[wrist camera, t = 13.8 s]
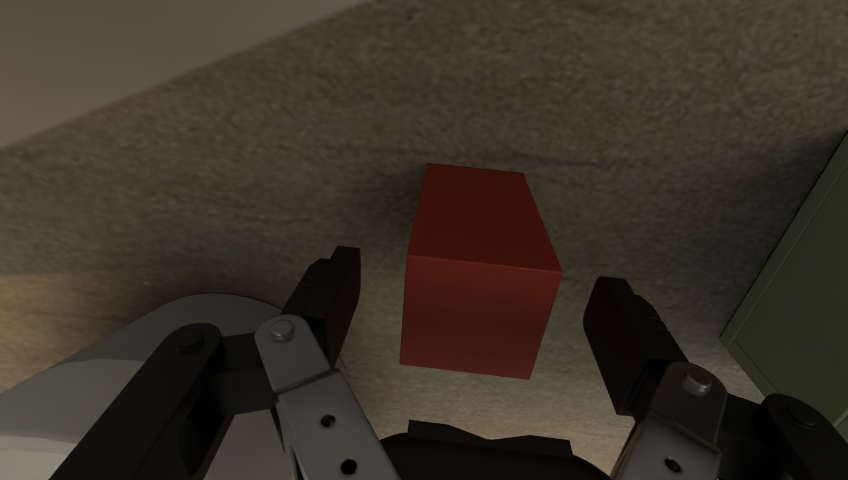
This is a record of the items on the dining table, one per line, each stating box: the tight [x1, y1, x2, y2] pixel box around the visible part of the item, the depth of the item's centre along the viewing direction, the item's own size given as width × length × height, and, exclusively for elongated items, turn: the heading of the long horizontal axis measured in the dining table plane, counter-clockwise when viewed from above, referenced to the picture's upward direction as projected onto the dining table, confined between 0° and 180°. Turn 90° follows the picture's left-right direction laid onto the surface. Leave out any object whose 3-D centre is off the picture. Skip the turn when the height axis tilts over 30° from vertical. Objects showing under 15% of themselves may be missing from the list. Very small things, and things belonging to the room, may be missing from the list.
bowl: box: [0, 293, 350, 480], centre depth 22 cm, size 19×19×11 cm
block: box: [400, 163, 563, 380], centre depth 15 cm, size 4×4×8 cm
